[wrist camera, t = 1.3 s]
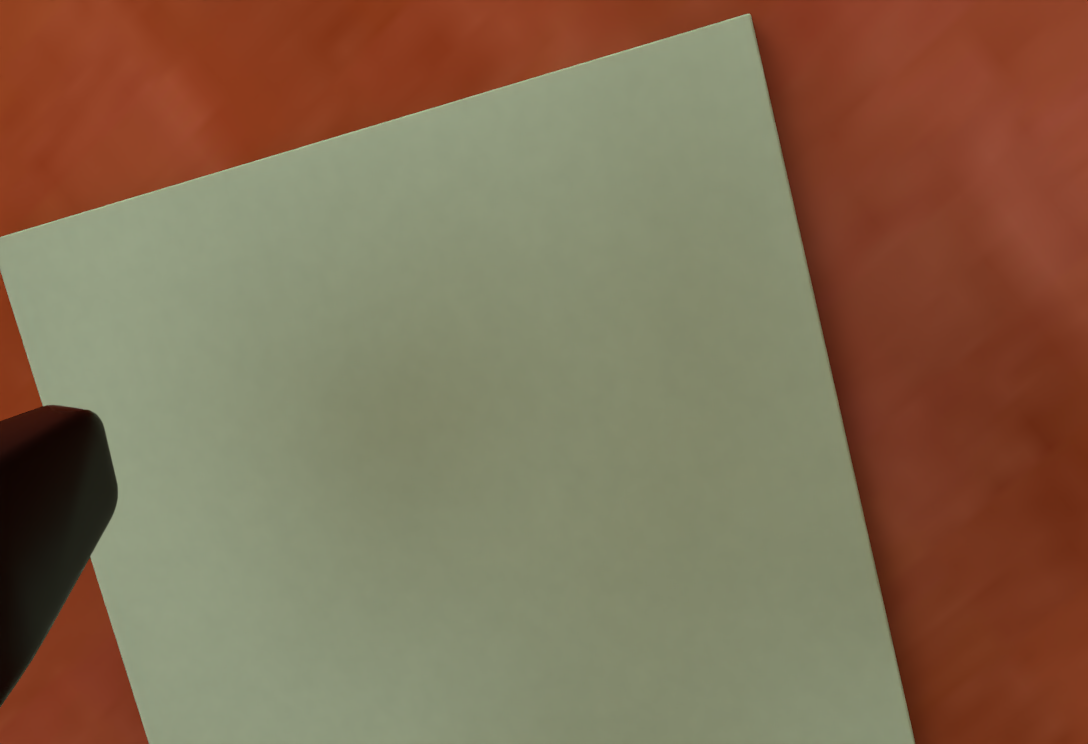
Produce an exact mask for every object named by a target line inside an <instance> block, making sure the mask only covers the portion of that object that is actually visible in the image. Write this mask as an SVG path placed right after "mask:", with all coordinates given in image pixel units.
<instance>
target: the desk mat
mask: <svg viewBox="0 0 1088 744" xmlns="http://www.w3.org/2000/svg"><path fill="white" fill-rule="evenodd" d="M0 271H1V274H2V277H3V281H4V284H5V287H6V290H7V293H8V296H9V300H10V303H11V306H12V309H13V312H14V316H15V319H16V322H17V325H18V328H19V331H20V335H21V338H22V341H23V344H24V347H25V351H26V354H27V357H28V360H29V363H30V366H31V370H32V373H33V376H34V379H35V382H36V386H37V389H38V392H39V395H40V398H41V401H42V405H43V406H46V405H61V406H67V407H74V408H81V409H87V410H90V411H92V412H94V413H96V414H97V415H98V416H99V418H100V419H101V420H102V422H103V425H104V428H105V432H106V437H107V441H108V445H109V450H110V454H111V458H112V462H113V467H114V471H115V475H116V480H117V484H118V500H117V505H116V508H115V511H114V514H113V516H112V518H111V520H110V522H109V524H108V526H107V527H106V529H105V531H104V533H103V535H102V536H101V538H100V540H99V542H98V544H97V545H96V547H95V549H94V551H93V553H92V554H91V556H90V557H91V561H92V564H93V567H94V570H95V573H96V577H97V580H98V583H99V586H100V589H101V592H102V596H103V599H104V602H105V605H106V608H107V612H108V615H109V618H110V621H111V624H112V627H113V631H114V634H115V637H116V640H117V643H118V647H119V650H120V653H121V656H122V659H123V662H124V666H125V669H126V672H127V675H128V678H129V682H130V685H131V688H132V691H133V694H134V697H135V701H136V704H137V707H138V710H139V713H140V717H141V720H142V723H143V726H144V729H145V732H146V736H147V739H148V742H149V744H915V740H914V735H913V731H912V726H911V722H910V718H909V713H908V709H907V704H906V700H905V695H904V691H903V687H902V682H901V678H900V673H899V669H898V664H897V660H896V655H895V651H894V647H893V642H892V638H891V633H890V629H889V624H888V620H887V616H886V611H885V607H884V602H883V598H882V593H881V589H880V585H879V580H878V576H877V571H876V567H875V562H874V558H873V554H872V549H871V545H870V540H869V536H868V531H867V527H866V523H865V518H864V514H863V509H862V505H861V500H860V496H859V492H858V487H857V483H856V478H855V474H854V469H853V465H852V461H851V456H850V452H849V447H848V443H847V438H846V434H845V429H844V425H843V421H842V416H841V412H840V407H839V403H838V398H837V394H836V390H835V385H834V381H833V376H832V372H831V367H830V363H829V359H828V354H827V350H826V345H825V341H824V336H823V332H822V328H821V323H820V319H819V314H818V310H817V305H816V301H815V297H814V292H813V288H812V283H811V279H810V274H809V270H808V265H807V261H806V257H805V252H804V248H803V243H802V239H801V234H800V230H799V226H798V221H797V217H796V212H795V208H794V203H793V199H792V195H791V190H790V186H789V181H788V177H787V172H786V168H785V164H784V159H783V155H782V150H781V146H780V141H779V137H778V133H777V128H776V124H775V119H774V115H773V110H772V106H771V102H770V97H769V93H768V88H767V84H766V79H765V75H764V71H763V66H762V62H761V57H760V53H759V48H758V44H757V39H756V35H755V31H754V26H753V22H752V17H751V15H750V14H745V15H742V16H739V17H735V18H732V19H729V20H725V21H722V22H719V23H715V24H712V25H709V26H705V27H702V28H699V29H695V30H692V31H688V32H685V33H682V34H678V35H675V36H672V37H668V38H665V39H662V40H658V41H655V42H652V43H648V44H645V45H642V46H638V47H635V48H632V49H628V50H625V51H622V52H618V53H615V54H611V55H608V56H605V57H601V58H598V59H595V60H591V61H588V62H585V63H581V64H578V65H575V66H571V67H568V68H565V69H561V70H558V71H555V72H551V73H548V74H545V75H541V76H538V77H535V78H531V79H528V80H524V81H521V82H518V83H514V84H511V85H508V86H504V87H501V88H498V89H494V90H491V91H488V92H484V93H481V94H478V95H474V96H471V97H468V98H464V99H461V100H458V101H454V102H451V103H447V104H444V105H441V106H437V107H434V108H431V109H427V110H424V111H421V112H417V113H414V114H411V115H407V116H404V117H401V118H397V119H394V120H391V121H387V122H384V123H381V124H377V125H374V126H370V127H367V128H364V129H360V130H357V131H354V132H350V133H347V134H344V135H340V136H337V137H334V138H330V139H327V140H324V141H320V142H317V143H314V144H310V145H307V146H304V147H300V148H297V149H294V150H290V151H287V152H283V153H280V154H277V155H273V156H270V157H267V158H263V159H260V160H257V161H253V162H250V163H247V164H243V165H240V166H237V167H233V168H230V169H227V170H223V171H220V172H217V173H213V174H210V175H206V176H203V177H200V178H196V179H193V180H190V181H186V182H183V183H180V184H176V185H173V186H170V187H166V188H163V189H160V190H156V191H153V192H150V193H146V194H143V195H140V196H136V197H133V198H130V199H126V200H123V201H119V202H116V203H113V204H109V205H106V206H103V207H99V208H96V209H93V210H89V211H86V212H83V213H79V214H76V215H73V216H69V217H66V218H63V219H59V220H56V221H53V222H49V223H46V224H42V225H39V226H36V227H32V228H29V229H26V230H22V231H19V232H16V233H12V234H9V235H6V236H2V237H0Z"/></svg>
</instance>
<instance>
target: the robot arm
mask: <svg viewBox="0 0 1088 744" xmlns="http://www.w3.org/2000/svg"><path fill="white" fill-rule="evenodd" d="M117 500H118V484H117V480H116V475H115V471H114V467H113V462H112V458H111V454H110V450H109V445H108V441H107V437H106V432H105V428H104V425H103V422H102V420H101V419H100V418H99V416H98V415H97V414H96V413H94V412H92V411H90V410H87V409H81V408H74V407H67V406H61V405H46V406H42V407H39V408H36V409H34V410H31V411H28V412H25V413H22V414H19V415H17V416H14V417H11V418H8V419H5V420H2V421H0V707H1V705H2V704H3V702H4V701H5V700H6V698H7V697H8V695H9V694H10V692H11V691H12V689H13V688H14V687H15V685H16V684H17V682H18V681H19V679H20V678H21V676H22V674H23V673H24V671H25V670H26V668H27V667H28V665H29V664H30V662H31V661H32V659H33V657H34V656H35V654H36V652H37V651H38V649H39V647H40V646H41V644H42V642H43V641H44V639H45V637H46V636H47V634H48V632H49V630H50V628H51V627H52V625H53V623H54V621H55V619H56V618H57V616H58V614H59V612H60V610H61V609H62V607H63V605H64V603H65V601H66V599H67V598H68V596H69V594H70V592H71V590H72V589H73V587H74V585H75V583H76V581H77V580H78V578H79V576H80V574H81V572H82V571H83V569H84V567H85V565H86V563H87V562H88V560H89V558H90V556H91V554H92V553H93V551H94V549H95V547H96V545H97V544H98V542H99V540H100V538H101V536H102V535H103V533H104V531H105V529H106V527H107V526H108V524H109V522H110V520H111V518H112V516H113V514H114V511H115V508H116V505H117Z"/></svg>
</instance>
